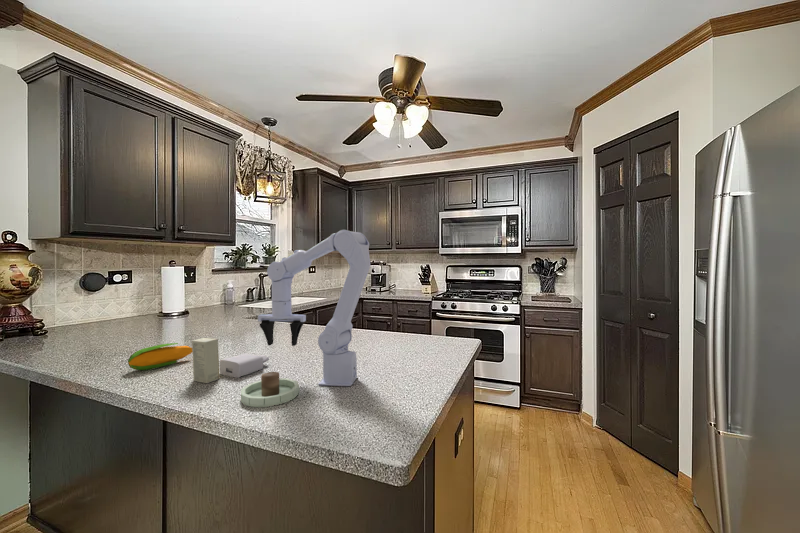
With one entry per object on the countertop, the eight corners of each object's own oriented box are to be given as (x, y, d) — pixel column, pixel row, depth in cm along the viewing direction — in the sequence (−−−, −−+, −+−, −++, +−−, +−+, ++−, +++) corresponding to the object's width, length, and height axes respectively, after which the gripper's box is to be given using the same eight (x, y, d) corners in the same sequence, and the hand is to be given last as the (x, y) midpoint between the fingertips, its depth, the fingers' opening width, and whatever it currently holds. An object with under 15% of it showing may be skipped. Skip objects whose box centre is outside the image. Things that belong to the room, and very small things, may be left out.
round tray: (306, 386, 96) (306, 379, 96) (284, 408, 83) (284, 399, 83) (258, 385, 98) (258, 377, 98) (229, 406, 84) (229, 397, 84)
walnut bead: (281, 390, 93) (280, 371, 93) (277, 396, 88) (277, 377, 88) (264, 390, 92) (263, 372, 92) (259, 397, 88) (259, 377, 88)
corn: (123, 348, 111) (187, 336, 128) (122, 371, 111) (187, 356, 128) (133, 352, 107) (199, 339, 124) (133, 377, 107) (198, 360, 124)
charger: (277, 365, 118) (239, 378, 104) (258, 361, 122) (219, 374, 109) (277, 351, 118) (239, 363, 104) (258, 348, 122) (219, 359, 109)
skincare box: (220, 379, 103) (219, 338, 103) (206, 384, 99) (205, 342, 99) (205, 376, 106) (205, 336, 106) (191, 381, 102) (191, 340, 102)
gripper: (309, 299, 109) (309, 342, 110) (265, 299, 111) (266, 341, 111) (300, 302, 102) (301, 347, 103) (254, 301, 104) (254, 346, 104)
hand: (282, 344), depth 106 cm, fingers open, 7 cm apart
